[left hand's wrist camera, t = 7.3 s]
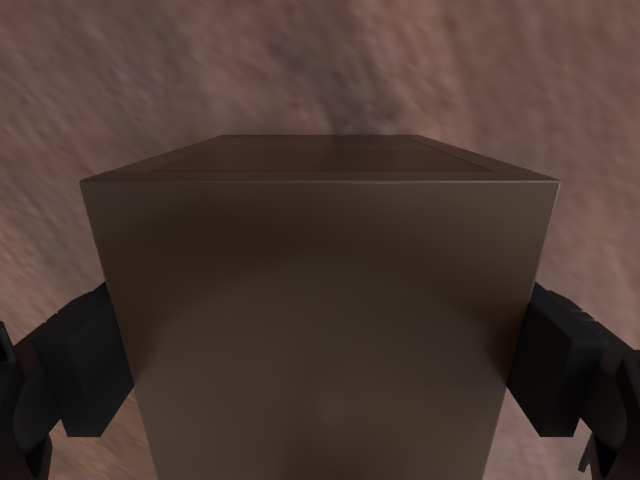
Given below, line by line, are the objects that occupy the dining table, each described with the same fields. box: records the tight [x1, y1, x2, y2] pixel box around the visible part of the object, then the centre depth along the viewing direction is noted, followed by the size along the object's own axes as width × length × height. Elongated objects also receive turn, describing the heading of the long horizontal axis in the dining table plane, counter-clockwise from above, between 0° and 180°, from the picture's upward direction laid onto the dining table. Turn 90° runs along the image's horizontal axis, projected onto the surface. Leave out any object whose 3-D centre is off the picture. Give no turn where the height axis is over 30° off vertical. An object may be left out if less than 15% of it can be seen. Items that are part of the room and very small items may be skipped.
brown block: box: [79, 135, 561, 480], centre depth 16 cm, size 21×10×11 cm, turn 0°
